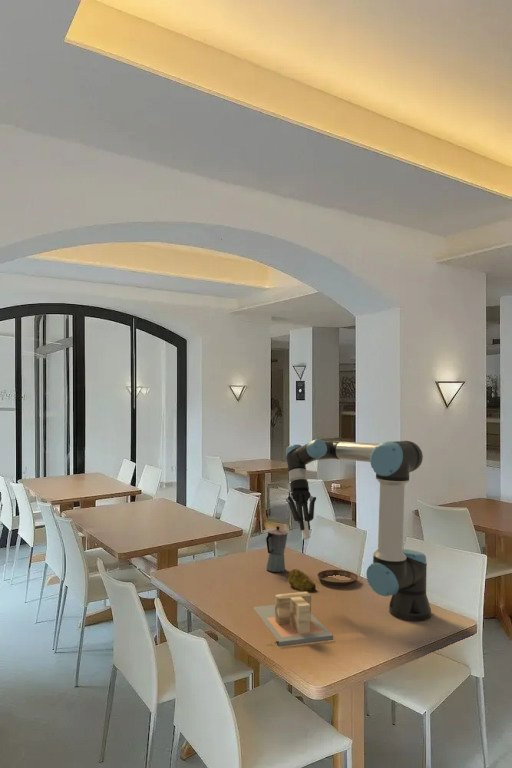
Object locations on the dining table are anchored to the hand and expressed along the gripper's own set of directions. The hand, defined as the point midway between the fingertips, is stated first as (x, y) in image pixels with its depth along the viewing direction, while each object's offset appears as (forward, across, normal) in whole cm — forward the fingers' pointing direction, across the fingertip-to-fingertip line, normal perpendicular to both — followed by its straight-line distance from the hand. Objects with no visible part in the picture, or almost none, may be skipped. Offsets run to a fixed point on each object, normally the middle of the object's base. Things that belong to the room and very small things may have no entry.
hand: (306, 538), depth 211 cm
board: (+31, +13, +4) cm, 34 cm away
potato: (+16, -4, -22) cm, 28 cm away
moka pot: (+3, -4, -47) cm, 47 cm away
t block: (+32, +12, +9) cm, 36 cm away
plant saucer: (+13, -25, -26) cm, 38 cm away
